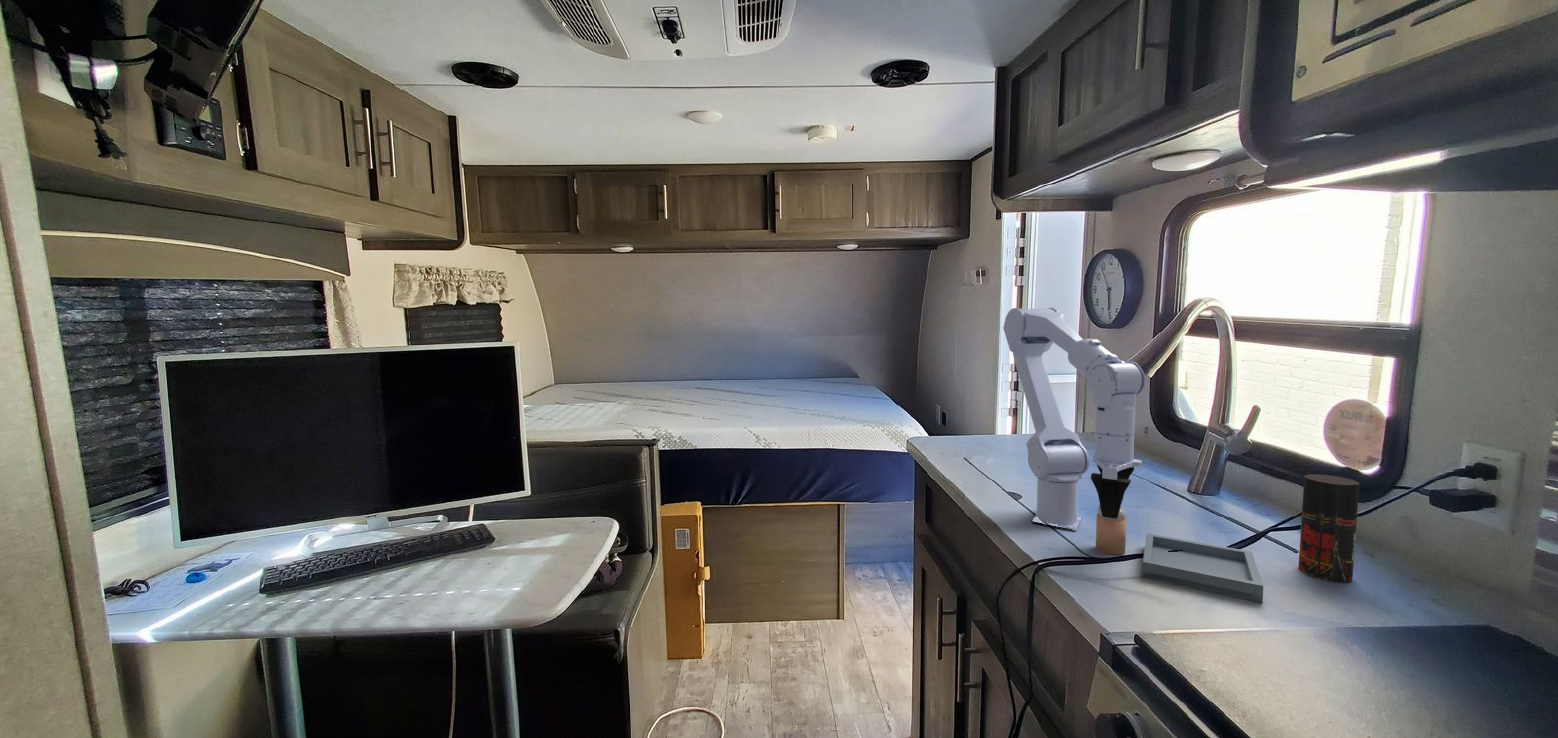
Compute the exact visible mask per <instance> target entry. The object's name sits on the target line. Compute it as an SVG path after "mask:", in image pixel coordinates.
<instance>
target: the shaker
mask: <svg viewBox="0 0 1558 738" xmlns="http://www.w3.org/2000/svg"><path fill="white" fill-rule="evenodd" d="M1097 508H1098V511H1097V512H1098V513H1096V524H1095V525H1096V526H1095V550H1096V549H1097V552H1099V551H1100V553H1102V554H1104V555H1109V556H1116V557H1117V556H1121V557H1122V556H1124V555H1125V554H1126V539H1127V517H1126V509H1125V508H1124V507H1122V506H1121V507H1120V511H1119V515H1118V517H1117V519H1114V518H1108V517H1103V516H1102V512H1101V508H1100V504H1099V505H1098V507H1097Z"/></svg>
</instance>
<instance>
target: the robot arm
mask: <svg viewBox="0 0 1558 738" xmlns="http://www.w3.org/2000/svg"><path fill="white" fill-rule="evenodd" d="M1064 317H1065V316H1064V313H1063V312H1060V311H1059V310H1058V309H1057V308H1055V307H1048V308H1018V307H1014V308H1011V309H1010V310H1009V311H1008V312H1007V313H1006V316H1005V320H1004V323H1003V327H1002V328H1003V332H1004V336H1005V339H1006V342H1007V345H1008V349H1009V351H1010V352H1011V353H1012V355H1013V360H1014V363H1015V367H1016V370H1017V373H1018V377H1019V380H1020V384H1021V386H1022V390H1023V394H1024V397H1025V401H1026V404H1027V408H1028V410H1029V414H1030V417H1031V420H1032V423H1033V428H1034V431H1035V432H1034V433H1033V435H1032V436H1031V437H1030V438H1029V439H1028V440H1027V442H1026V444H1025V445H1026V448H1027V464H1028V466H1029V469H1030V470H1031V472H1032V474H1033V476H1035V477H1037V479H1036V480H1037V483H1036V485H1037V486H1036V489H1037V490H1036V512H1037V517H1038V518H1039V519H1040V520H1043V521H1045V522H1048V523H1051V524H1052V523H1053V524H1058V526H1061V525H1062V527H1065V528H1071V529H1077V530H1078V528H1079V526H1078V524H1079V523H1078V522H1077V520H1081V521H1082V519H1081V517H1077V514H1078V505H1079V503H1078V499H1079V480H1082V479H1083V475H1084V474H1086V473H1087V471H1088V470H1089V467H1090V455H1089V453H1088V451H1087V449H1086V448H1085V446H1084V445H1083V444H1082V442H1081V439H1080V436H1079V435H1078V434H1076V433H1075V432H1074V431H1072V430H1070V429H1069V428H1067V427H1066V426H1065V425H1064V421H1063V418H1062V416H1061V412H1060V409H1059V405H1058V403H1057V400H1056V396H1055V393H1054V391H1053V387H1052V385H1051V382H1050V378H1049V375H1048V372H1047V369H1046V366H1045V363H1044V359H1043V355H1044V353H1046V352H1048V351H1049V350H1050V349H1051V347H1052V345H1053V344H1055V345H1056V346H1058V347H1060V348H1061V349H1062V350H1063V351H1065V352H1066V353H1067V360H1068V362H1069V364H1071V365H1072V366H1073V367H1074V368H1075V369H1076V370H1077V371H1078V372H1079V373H1081V374H1082V376H1084V377H1085V378H1086V379H1087V383H1088V388H1089V390H1090V392H1091V394H1092V403H1093V405H1094V406H1095V426H1094V427H1095V428H1094V429H1095V431H1094V432H1095V433H1094V455H1093V457H1092V461H1093V463H1095V464H1096V466H1097V468H1098V471H1099V473H1096V472H1091V474H1090V480H1091V482H1092V483H1093V485H1094V487H1095V490H1096V493H1097V495H1098V502H1099V505H1100V508H1101V512H1102V516H1103V517H1108V518H1114V519H1117V517H1118V515H1119V511H1120V507H1122V504H1123V500H1124V495H1125V492H1126V491H1127V489H1128V487H1129V486H1130V484H1131V483H1132V479H1130V477H1131V475H1132V474H1133V472H1134V471H1135V467H1141V466H1142V463H1143V461H1142V460H1140V459H1134V456H1135V455H1134V453H1135V451H1134V450H1135V449H1134V448H1135V431H1136V430H1135V426H1136V405H1137V404H1136V399H1137V398H1136V397H1137V396H1139V395H1140V394H1141V393H1142V392H1143V390H1144V388H1145V385H1146V375H1145V372H1144V370H1143V368H1141V366H1140V365H1139V364H1138V363H1137V362H1135V361H1124V360H1120V358H1119V357H1118V355H1117V354H1115V353H1112V352H1110V351H1109V350H1107V349H1106V348H1105V347H1104V346H1102V345H1101V344H1102V341H1100V340H1099V339H1095V338H1085V339H1083V338H1082V337H1081V336H1080V335H1079V334H1078V333H1077V332H1076V331H1075V330H1074V329H1073V328H1072V327H1071V326H1070V325H1069V324H1068V323H1067V322H1065V318H1064ZM1079 525H1080V524H1079ZM1077 527H1078V528H1077Z"/></svg>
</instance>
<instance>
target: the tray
mask: <svg viewBox="0 0 1558 738" xmlns="http://www.w3.org/2000/svg"><path fill="white" fill-rule="evenodd" d="M1170 550H1171V551H1172V550H1183V551H1178V552H1168V551H1170ZM1142 578H1144V579H1149V580H1153V581H1158V582H1162V583H1167V584H1171V585H1177V586H1181V587H1185V588H1190V589H1195V590H1199V591H1205V592H1208V593H1214V594H1219V595H1223V596H1227V597H1230V598H1231V597H1232V598H1237V599H1241V600H1246V601H1251V602H1255V603H1260V604H1263V600H1264V584H1263V581H1262V578H1261V575H1260V572H1259V568H1258V566H1257V563H1256V561H1255V558H1254V554H1253V551H1250V550H1244V549H1240V548H1239V549H1238V548H1234V547H1233V548H1232V547H1229V546H1228V547H1227V546H1221V545H1216V544H1210V543H1204V542H1199V541H1193V540H1189V539H1188V540H1187V539H1182V538H1177V537H1170V536H1165V535H1158V534H1155V533H1147V532H1146V536H1145V543H1144V551H1143V557H1142Z"/></svg>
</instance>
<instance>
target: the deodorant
mask: <svg viewBox="0 0 1558 738" xmlns="http://www.w3.org/2000/svg"><path fill="white" fill-rule="evenodd" d="M1302 490H1303V491H1302V492H1303V493H1302V504H1301V505H1302V506H1301V507H1302V508H1301V522H1300V523H1301V524H1300V534H1299V535H1300V537H1299V538H1300V540H1299V551H1298V552H1299V553H1298V567H1297V568H1298V570H1299V572H1300V573H1303V574H1304V575H1307V576H1308V577H1312V578H1315V579H1318V580H1321V581H1325V582H1326V581H1327V582H1330V583H1337V584H1347V583H1352V582H1353V580H1354V579H1353V575H1354V564H1355V563H1354V562H1355V549H1356V535H1357V521H1358V509H1359V496H1360V495H1359V493H1360V482H1358V481H1356V480H1353V479H1351V478H1346V477H1343V476H1341V477H1340V476H1335V475H1331V474H1330V475H1329V474H1316V473H1315V474H1314V473H1313V474H1312V473H1311V474H1310V473H1309V474H1305V475H1304V476H1303V489H1302Z"/></svg>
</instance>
